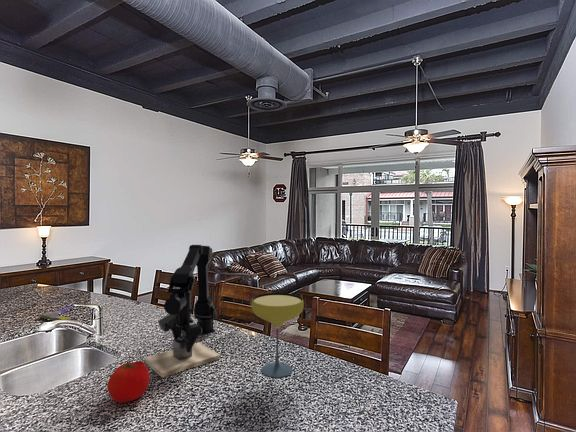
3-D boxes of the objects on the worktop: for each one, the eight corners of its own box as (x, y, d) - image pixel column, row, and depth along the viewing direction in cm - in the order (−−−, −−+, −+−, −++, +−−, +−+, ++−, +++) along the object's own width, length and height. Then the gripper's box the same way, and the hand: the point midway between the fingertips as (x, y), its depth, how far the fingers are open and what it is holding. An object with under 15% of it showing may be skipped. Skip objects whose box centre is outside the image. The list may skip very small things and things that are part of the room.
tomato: (159, 390, 108) (159, 357, 107) (128, 413, 96) (128, 376, 96) (130, 384, 111) (130, 352, 111) (97, 405, 99) (96, 369, 99)
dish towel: (104, 311, 188) (104, 306, 188) (58, 325, 166) (58, 319, 166) (82, 307, 196) (82, 302, 196) (36, 320, 174) (36, 314, 173)
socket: (185, 352, 132) (185, 333, 132) (192, 356, 129) (192, 337, 128) (173, 355, 129) (173, 336, 129) (179, 360, 125) (179, 340, 125)
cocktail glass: (292, 387, 110) (293, 309, 109) (241, 377, 116) (242, 303, 115) (309, 363, 127) (310, 295, 126) (264, 355, 133) (264, 290, 132)
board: (199, 345, 142) (199, 332, 142) (220, 358, 130) (220, 344, 130) (144, 361, 127) (144, 346, 127) (162, 377, 115) (162, 361, 115)
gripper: (150, 304, 130) (151, 346, 130) (172, 316, 116) (172, 363, 116) (179, 299, 137) (179, 338, 138) (202, 310, 123) (202, 353, 124)
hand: (182, 348), depth 129 cm, fingers open, 9 cm apart
